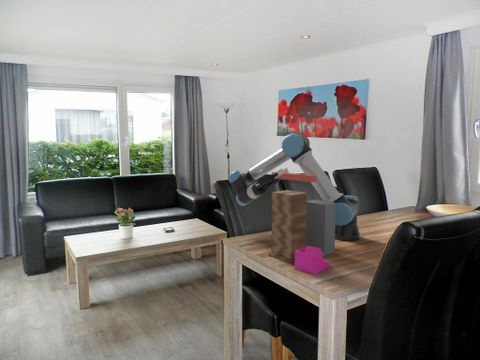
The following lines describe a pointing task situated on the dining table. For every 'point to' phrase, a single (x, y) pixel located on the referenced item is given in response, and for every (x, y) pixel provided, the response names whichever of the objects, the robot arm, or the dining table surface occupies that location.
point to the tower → (288, 224)
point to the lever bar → (297, 177)
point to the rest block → (320, 225)
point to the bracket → (310, 260)
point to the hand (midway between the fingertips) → (285, 170)
